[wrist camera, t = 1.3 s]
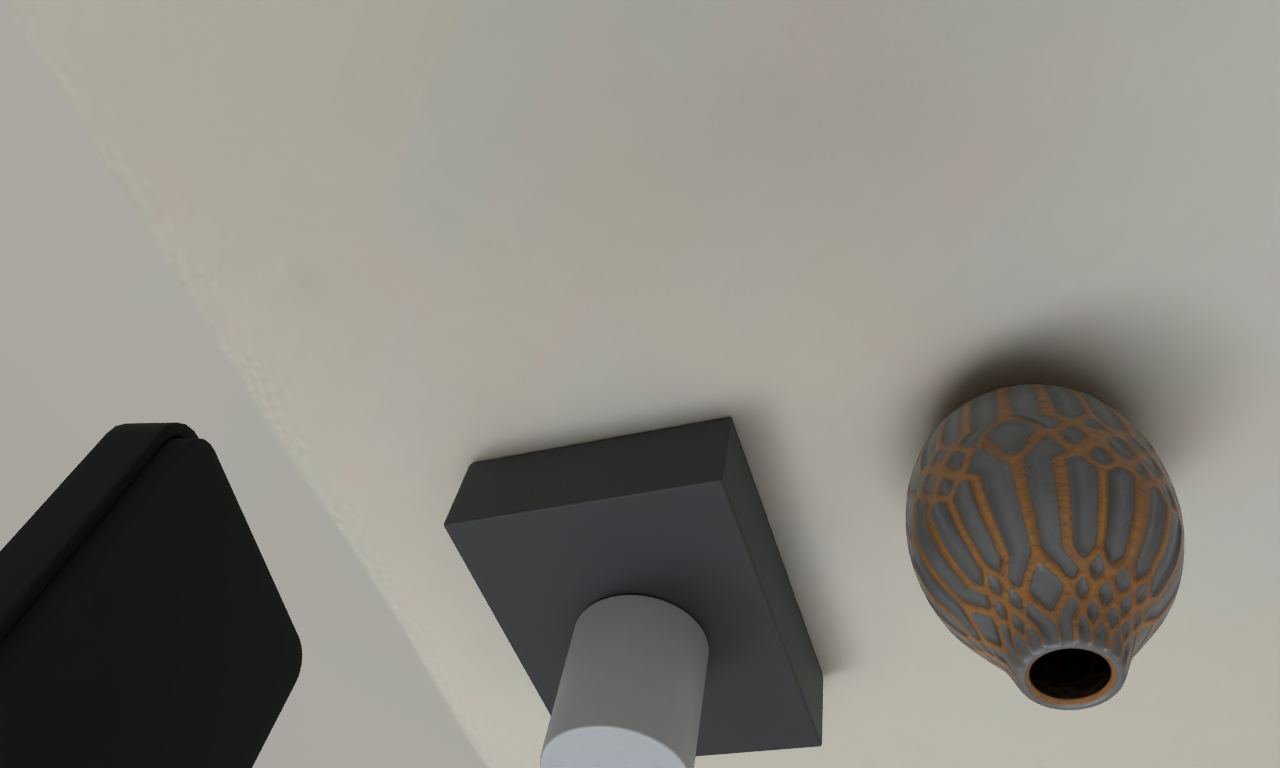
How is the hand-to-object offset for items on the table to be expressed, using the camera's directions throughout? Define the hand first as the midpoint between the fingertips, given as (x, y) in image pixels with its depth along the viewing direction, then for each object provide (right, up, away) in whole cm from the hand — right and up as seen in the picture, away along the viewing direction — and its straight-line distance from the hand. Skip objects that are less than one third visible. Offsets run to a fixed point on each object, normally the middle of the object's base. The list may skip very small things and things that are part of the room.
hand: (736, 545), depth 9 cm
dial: (-1, -7, +26) cm, 27 cm away
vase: (+10, 0, +23) cm, 25 cm away
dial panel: (0, -5, +28) cm, 29 cm away
